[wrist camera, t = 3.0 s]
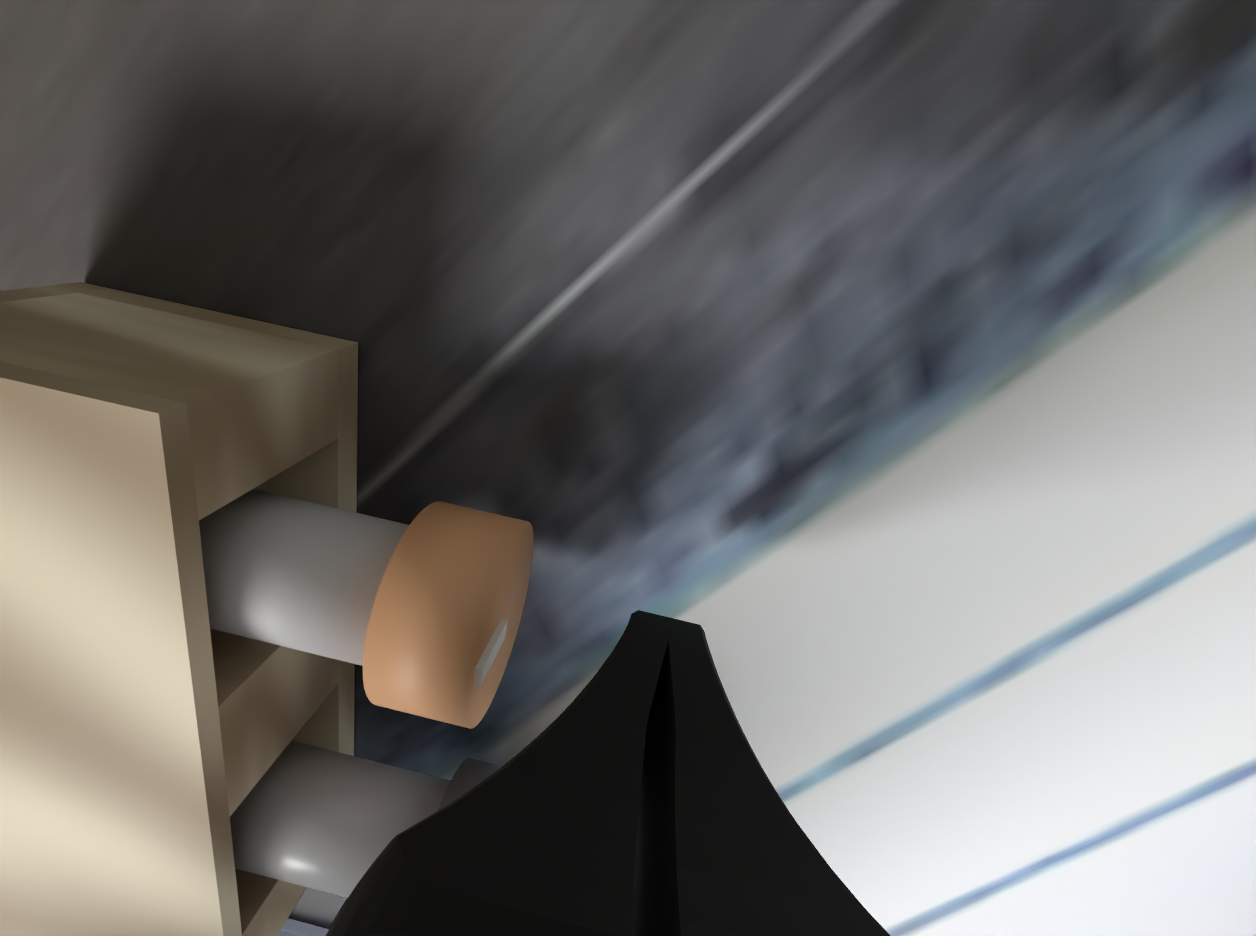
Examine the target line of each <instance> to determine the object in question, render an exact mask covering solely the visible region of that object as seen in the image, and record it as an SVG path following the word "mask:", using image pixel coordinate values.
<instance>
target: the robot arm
mask: <svg viewBox="0 0 1256 936" xmlns="http://www.w3.org/2000/svg"><path fill="white" fill-rule="evenodd" d="M277 936H890V935H889V934H888V933H887V932H886V931H885V929H884V928H883V927H882V926H881V925H880V924H879V923H878V922H877V921H876V920H875V919H874V918H873V917H872V916H871V915H870V914H869V913H868V911H867V910H866V909H865V908H864V907H863V906H862V905H861V903H860V902H859V901H858V900H857V899H856V898H855V896H854V895H853V894H852V893H851V892H850V890H849V889H848V888H847V887H846V886H845V885H844V883H843V882H842V881H841V880H840V879H839V877H838V876H837V875H836V874H835V873H834V871H833V870H832V869H831V868H830V866H829V865H828V864H827V863H826V861H825V860H824V859H823V857H822V856H821V855H820V853H819V852H818V851H817V849H816V848H815V847H814V845H813V844H812V842H811V841H810V840H809V838H808V837H807V836H806V834H805V833H804V832H803V830H802V829H801V828H800V826H799V825H798V824H797V822H796V821H795V819H794V818H793V816H792V815H791V813H790V812H789V810H788V809H787V807H786V806H785V804H784V803H783V801H782V800H781V798H780V797H779V795H778V793H777V792H776V790H775V789H774V787H773V785H772V784H771V782H770V780H769V779H768V777H767V775H766V774H765V772H764V770H763V769H762V767H761V765H760V763H759V761H758V760H757V758H756V756H755V754H754V752H753V750H752V748H751V747H750V745H749V743H748V741H747V739H746V737H745V735H744V733H743V731H742V729H741V727H740V725H739V722H738V720H737V718H736V716H735V714H734V712H733V709H732V707H731V705H730V702H729V700H728V698H727V695H726V693H725V691H724V688H723V686H722V683H721V681H720V678H719V676H718V673H717V670H716V668H715V665H714V662H713V659H712V656H711V653H710V650H709V647H708V644H707V640H706V637H705V633H704V630H703V629H702V627H701V626H700V625H698V624H694V623H690V622H685V621H681V620H677V619H673V618H669V617H664V616H660V615H656V614H652V613H648V612H643V611H639V610H638V611H636V612H634V613H632V614H631V617H630V621H629V623H628V625H627V627H626V630H625V631H624V633H623V635H622V637H621V639H620V640H619V642H618V643H617V645H616V647H615V648H614V650H613V651H612V653H611V654H610V656H609V657H608V658H607V660H606V661H605V663H604V664H603V665H602V667H601V668H600V669H599V671H598V672H597V674H596V675H595V676H594V677H593V679H592V680H591V681H590V682H589V683H588V684H587V686H586V687H585V688H584V689H583V690H582V692H581V693H580V694H579V695H578V696H577V697H576V699H575V700H574V701H573V702H572V703H571V704H570V705H569V706H568V707H567V709H566V710H565V711H564V712H563V713H562V714H561V715H560V716H559V717H558V718H557V719H556V720H555V721H554V722H553V723H552V724H551V725H550V726H549V727H548V728H547V729H546V730H544V731H543V732H542V733H541V734H540V735H539V736H538V737H537V738H536V739H535V740H533V741H532V742H531V743H530V744H529V745H528V746H527V747H525V748H524V749H523V750H522V751H521V752H520V753H518V754H517V755H516V756H515V757H514V758H512V759H511V760H510V761H509V762H508V763H506V764H505V765H504V766H502V767H501V768H500V769H499V770H497V771H496V772H494V773H493V774H492V775H490V776H489V777H487V778H486V779H485V780H483V781H482V782H480V783H479V784H478V785H476V786H475V787H473V788H472V789H471V790H469V791H468V792H466V793H465V794H464V795H462V796H461V797H459V798H458V799H456V800H455V801H453V802H452V803H450V804H449V805H447V806H445V807H444V808H442V809H440V810H439V811H437V812H435V813H434V814H432V815H430V816H428V817H427V818H425V819H423V820H422V821H420V822H418V823H417V824H415V825H413V826H412V827H410V828H408V829H407V830H405V831H403V832H401V833H400V834H398V835H396V836H395V837H394V838H393V839H392V840H391V841H390V843H389V844H388V845H387V846H386V847H385V849H384V850H383V851H382V852H381V854H380V855H379V856H378V857H377V858H376V860H375V861H374V862H373V863H372V865H371V866H370V867H369V869H368V870H367V871H366V873H365V874H364V875H363V877H362V878H361V879H360V881H359V882H358V883H357V885H356V886H355V888H354V889H353V891H352V892H351V894H350V895H349V897H348V898H347V900H346V901H345V903H344V904H343V906H342V907H341V909H340V911H339V912H338V914H337V916H336V917H335V919H334V921H333V923H332V925H331V927H330V929H326V928H323V927H319V926H315V925H311V924H308V923H304V922H300V921H296V920H293V919H289V918H288V919H287V921H286V922H285V924H284V926H283V927H282V929H281V930H280V932H279V934H278V935H277Z"/></svg>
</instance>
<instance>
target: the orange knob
mask: <svg viewBox="0 0 1256 936" xmlns="http://www.w3.org/2000/svg"><path fill="white" fill-rule="evenodd" d="M199 528H200V537H201V547H202V556H203V566H204V576H205V585H206V595H207V604H208V614H209V624H210V629H214V630H218V631H222V632H226V633H230V634H235V635H239V636H243V637H247V638H251V639H255V640H259V641H263V642H267V643H271V644H275V645H279V646H283V647H288V648H292V649H296V650H300V651H304V652H308V653H312V654H316V655H320V656H324V657H328V658H332V659H336V660H340V661H345V662H349V663H353V664H357V665H361V666H363V683H364V689H365V692H366V696H367V697H368V699H369V701H370V702H371V703H372V704H374V705H377V706H381V707H385V708H389V709H393V710H397V711H401V712H405V713H410V714H414V715H418V716H422V717H426V718H430V719H434V720H438V721H442V722H446V723H450V724H454V725H458V726H462V727H466V728H470V729H472V728H475V727H476V726H477V725H478V724H479V722H480V721H481V720H482V718H483V717H484V715H485V714H486V712H487V710H488V708H489V706H490V704H491V702H492V700H493V698H494V696H495V694H496V691H497V689H498V687H499V684H500V682H501V679H502V677H503V674H504V671H505V669H506V666H507V663H508V660H509V657H510V654H511V651H512V648H513V644H514V641H515V638H516V634H517V631H518V627H519V624H520V620H521V616H522V612H523V608H524V603H525V599H526V594H527V590H528V584H529V579H530V573H531V566H532V558H533V544H534V539H533V529H532V525H531V523H530V522H528V521H524V520H520V519H515V518H511V517H507V516H502V515H498V514H494V513H489V512H485V511H481V510H476V509H472V508H468V507H463V506H459V505H455V504H450V503H446V502H441V501H437V502H434V503H431V504H430V505H428V506H426V507H425V508H424V509H423V510H422V511H421V512H420V513H419V514H418V515H417V516H416V517H415V518H414V520H413V521H412V523H411V524H410V525H407V524H403V523H399V522H394V521H390V520H386V519H381V518H377V517H373V516H369V515H364V514H360V513H356V512H351V511H347V510H343V509H338V508H334V507H330V506H326V505H321V504H317V503H313V502H308V501H304V500H300V499H295V498H291V497H287V496H283V495H278V494H274V493H270V492H265V491H261V490H257V489H252V490H250V491H248V492H247V493H245V494H243V495H242V496H240V497H238V498H237V499H235V500H233V501H232V502H230V503H228V504H226V505H225V506H223V507H221V508H220V509H218V510H216V511H215V512H213V513H211V514H210V515H208V516H206V517H204V518H203V519H201V520H199Z"/></svg>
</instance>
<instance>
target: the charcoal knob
mask: <svg viewBox="0 0 1256 936" xmlns="http://www.w3.org/2000/svg"><path fill="white" fill-rule="evenodd" d="M501 767H502V766H500V765H496V764H492V763H488V762H484V761H480V760H476V759H472V758H467V759H465V760H464V761H463V762H462V764H461V765H460V766H459V768H458V770H457V771H456V773H455V775H454V777H453V778H452V780H451V781H450V780H446V779H442V778H438V777H434V776H430V775H427V774H423V773H419V772H415V771H411V770H407V769H403V768H399V767H395V766H391V765H387V764H383V763H379V762H375V761H371V760H367V759H363V758H359V757H355V756H352V755H348V754H344V753H340V752H336V751H332V750H328V749H324V748H320V747H316V746H312V745H308V744H304V743H300V742H296V741H291V742H290V743H289V744H288V746H287V747H286V748H285V749H284V751H283V752H282V753H281V754H280V756H279V757H278V758H277V759H276V760H275V762H274V763H273V764H272V765H271V767H270V768H269V769H268V770H267V772H266V773H265V774H264V775H263V777H262V778H261V779H260V780H259V781H258V783H257V784H256V785H255V786H254V788H253V789H252V790H251V791H250V793H249V794H248V795H247V796H246V798H245V799H244V800H243V801H242V802H241V804H240V805H239V806H238V807H237V809H236V810H235V811H234V812H233V814H232V815H231V816H230V825H231V835H232V844H233V854H234V863H235V869H239V870H243V871H247V872H251V873H254V874H258V875H262V876H266V877H269V878H273V879H277V880H281V881H284V882H288V883H292V884H296V885H299V886H303V887H307V888H311V889H315V890H318V891H322V892H326V893H330V894H333V895H337V896H341V897H345V898H348V897H349V895H350V894H351V892H352V891H353V889H354V888H355V886H356V885H357V883H358V882H359V881H360V879H361V878H362V877H363V875H364V874H365V873H366V871H367V870H368V869H369V867H370V866H371V865H372V863H373V862H374V861H375V860H376V858H377V857H378V856H379V855H380V854H381V852H382V851H383V850H384V849H385V847H386V846H387V845H388V844H389V843H390V841H391V840H392V839H393V838H394V837H395V836H396V835H398V834H400V833H401V832H403V831H405V830H407V829H408V828H410V827H412V826H413V825H415V824H417V823H418V822H420V821H422V820H423V819H425V818H427V817H428V816H430V815H432V814H434V813H435V812H437V811H439V810H440V809H442V808H444V807H445V806H447V805H449V804H450V803H452V802H453V801H455V800H456V799H458V798H459V797H461V796H462V795H464V794H465V793H466V792H468V791H469V790H471V789H472V788H473V787H475V786H476V785H478V784H479V783H480V782H482V781H483V780H485V779H486V778H487V777H489V776H490V775H492V774H493V773H494V772H496V771H497V770H499V769H500V768H501Z"/></svg>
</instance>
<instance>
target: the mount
mask: <svg viewBox="0 0 1256 936" xmlns="http://www.w3.org/2000/svg"><path fill="white" fill-rule="evenodd" d="M357 414H358V342H354V341H349V340H344V339H340V338H335V337H331V336H326V335H321V334H317V333H312V332H308V331H303V330H299V329H294V328H289V327H285V326H280V325H276V324H271V323H266V322H262V321H257V320H253V319H248V318H243V317H239V316H234V315H230V314H225V313H221V312H216V311H211V310H207V309H202V308H198V307H193V306H188V305H184V304H179V303H175V302H170V301H165V300H161V299H156V298H152V297H147V296H143V295H138V294H133V293H129V292H124V291H120V290H115V289H110V288H106V287H101V286H97V285H92V284H87V283H83V282H81V283H71V284H62V285H53V286H43V287H34V288H24V289H15V290H5V291H0V936H277V935H278V934H279V932H280V930H281V929H282V927H283V926H284V924H285V922H286V921H287V919H288V917H289V916H290V914H291V912H292V911H293V909H294V907H295V906H296V904H297V903H298V901H299V899H300V898H301V896H302V894H303V893H304V891H305V889H306V888H307V887H303V886H299V885H296V884H292V883H288V882H284V881H281V880H277V879H273V878H269V877H266V876H262V875H258V874H254V873H251V872H247V871H243V870H239V869H235V863H234V854H233V844H232V835H231V825H230V816H231V815H232V814H233V812H234V811H235V810H236V809H237V807H238V806H239V805H240V804H241V802H242V801H243V800H244V799H245V798H246V796H247V795H248V794H249V793H250V791H251V790H252V789H253V788H254V786H255V785H256V784H257V783H258V781H259V780H260V779H261V778H262V777H263V775H264V774H265V773H266V772H267V770H268V769H269V768H270V767H271V765H272V764H273V763H274V762H275V760H276V759H277V758H278V757H279V756H280V754H281V753H282V752H283V751H284V749H285V748H286V747H287V746H288V744H289V743H290V742H291V741H296V742H300V743H304V744H308V745H312V746H316V747H320V748H324V749H328V750H332V751H336V752H340V753H344V754H348V755H352V756H354V697H355V664H353V663H349V662H345V661H340V660H336V659H332V658H328V657H324V656H320V655H316V654H312V653H308V652H304V651H300V650H296V649H292V648H288V647H283V646H279V645H275V644H271V643H267V642H263V641H259V640H255V639H251V638H247V637H243V636H239V635H235V634H230V633H226V632H222V631H218V630H214V629H210V624H209V614H208V604H207V595H206V585H205V576H204V566H203V556H202V547H201V537H200V528H199V520H201V519H203V518H204V517H206V516H208V515H210V514H211V513H213V512H215V511H216V510H218V509H220V508H221V507H223V506H225V505H226V504H228V503H230V502H232V501H233V500H235V499H237V498H238V497H240V496H242V495H243V494H245V493H247V492H248V491H250V490H252V489H257V490H261V491H265V492H270V493H274V494H278V495H283V496H287V497H291V498H295V499H300V500H304V501H308V502H313V503H317V504H321V505H326V506H330V507H334V508H338V509H343V510H347V511H351V512H356V508H357Z"/></svg>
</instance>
